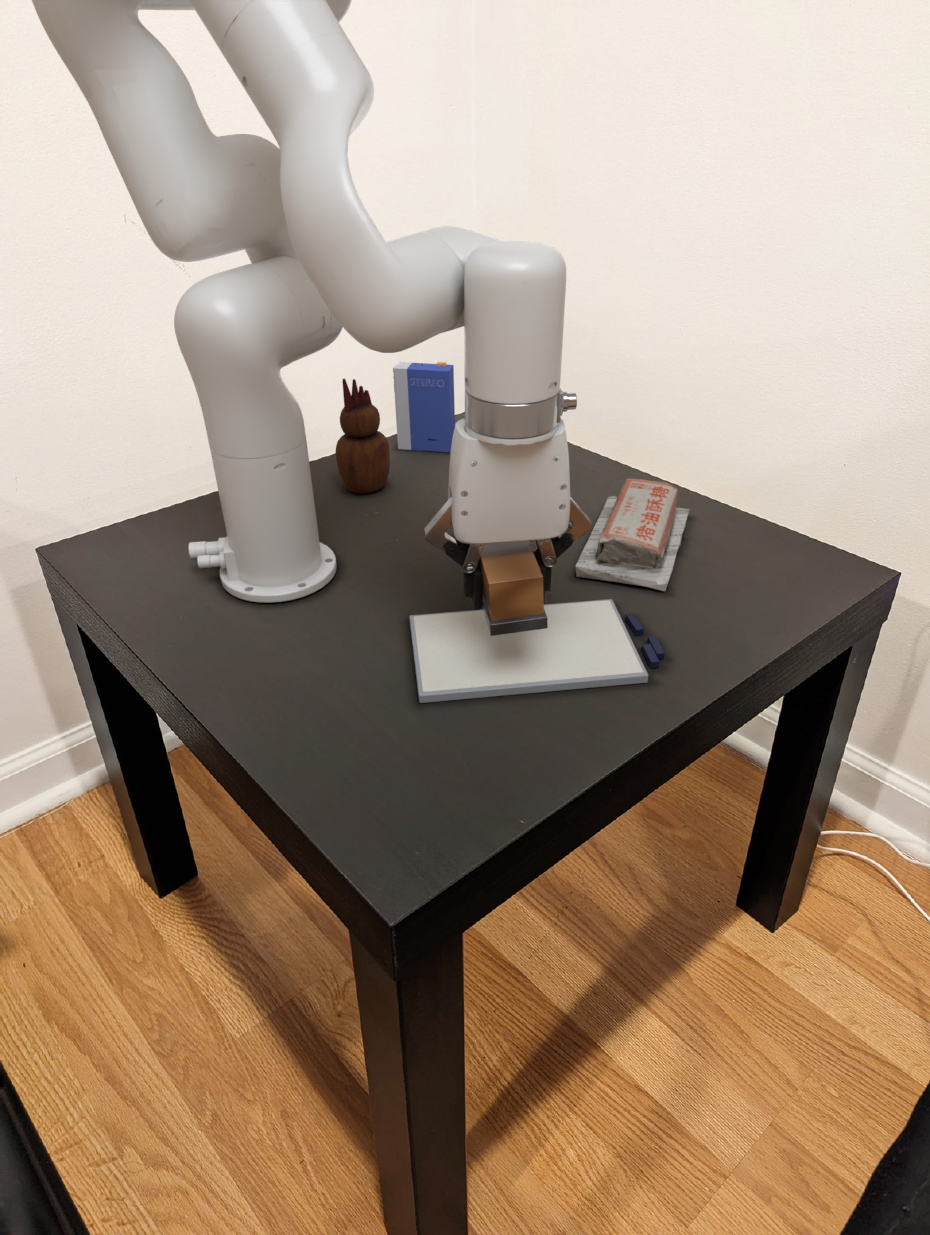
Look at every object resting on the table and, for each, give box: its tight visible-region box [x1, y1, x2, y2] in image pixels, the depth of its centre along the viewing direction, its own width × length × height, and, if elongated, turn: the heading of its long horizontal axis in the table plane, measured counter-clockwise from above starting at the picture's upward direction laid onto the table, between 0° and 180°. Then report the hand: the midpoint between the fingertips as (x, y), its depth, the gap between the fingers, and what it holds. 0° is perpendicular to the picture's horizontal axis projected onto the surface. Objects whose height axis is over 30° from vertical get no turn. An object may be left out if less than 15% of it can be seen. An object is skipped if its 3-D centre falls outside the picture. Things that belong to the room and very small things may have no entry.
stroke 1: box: [625, 613, 645, 637], centre depth 86 cm, size 1×3×1 cm, turn 12°
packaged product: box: [575, 478, 690, 592], centre depth 98 cm, size 18×5×10 cm
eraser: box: [479, 540, 548, 636], centre depth 78 cm, size 5×12×5 cm, turn 8°
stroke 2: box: [646, 635, 665, 661], centre depth 83 cm, size 1×3×1 cm
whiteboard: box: [409, 598, 649, 704], centre depth 83 cm, size 21×13×1 cm, turn 97°
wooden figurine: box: [335, 378, 391, 494], centre depth 109 cm, size 7×6×15 cm
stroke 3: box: [641, 643, 660, 669], centre depth 82 cm, size 1×3×1 cm, turn 7°
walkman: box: [392, 361, 456, 454], centre depth 120 cm, size 8×3×12 cm, turn 78°
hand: (506, 597), depth 80 cm, fingers closed on eraser, 5 cm apart
